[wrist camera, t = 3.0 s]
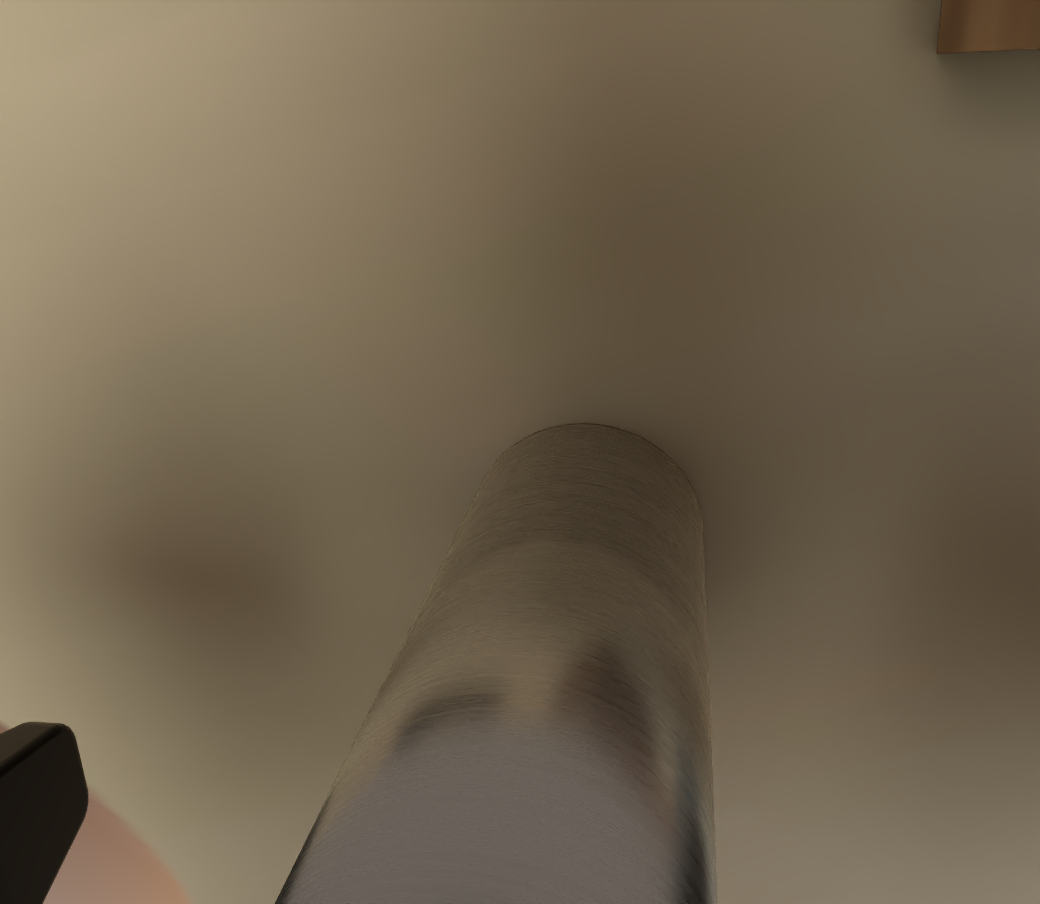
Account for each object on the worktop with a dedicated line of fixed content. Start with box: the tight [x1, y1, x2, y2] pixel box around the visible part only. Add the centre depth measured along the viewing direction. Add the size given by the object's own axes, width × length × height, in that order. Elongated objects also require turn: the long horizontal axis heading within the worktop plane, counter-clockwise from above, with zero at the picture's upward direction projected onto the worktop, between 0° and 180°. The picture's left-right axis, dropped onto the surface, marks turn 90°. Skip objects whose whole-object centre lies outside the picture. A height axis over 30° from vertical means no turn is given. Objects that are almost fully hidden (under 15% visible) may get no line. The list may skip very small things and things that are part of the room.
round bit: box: [275, 424, 717, 904], centre depth 10 cm, size 3×3×9 cm
